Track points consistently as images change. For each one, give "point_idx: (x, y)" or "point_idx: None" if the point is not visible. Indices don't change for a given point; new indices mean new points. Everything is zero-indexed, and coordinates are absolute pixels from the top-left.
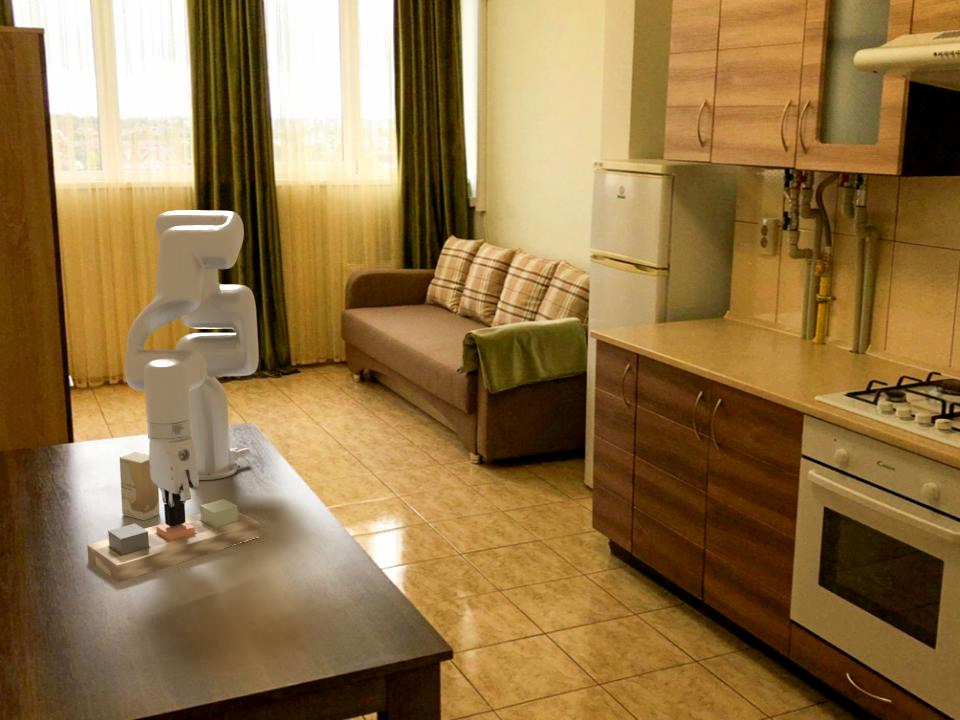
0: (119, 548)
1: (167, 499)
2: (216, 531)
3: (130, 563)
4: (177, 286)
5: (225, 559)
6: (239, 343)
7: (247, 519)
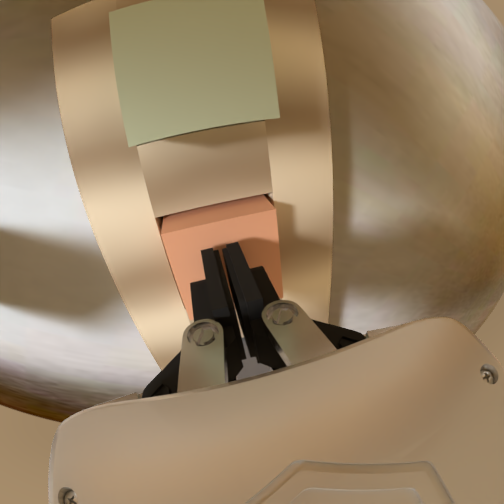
0: None
1: (237, 378)
2: (295, 124)
3: None
4: None
5: (364, 142)
6: None
7: None
